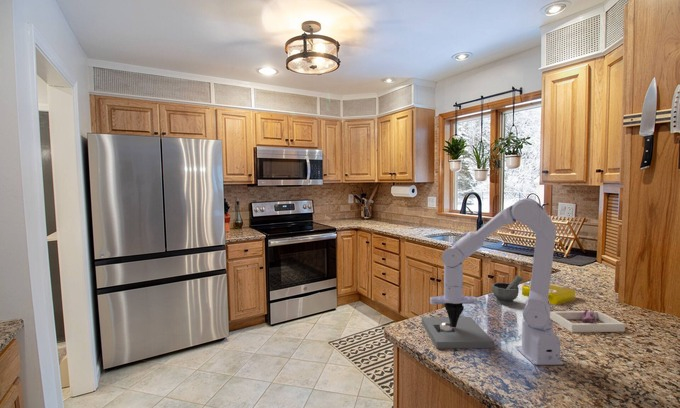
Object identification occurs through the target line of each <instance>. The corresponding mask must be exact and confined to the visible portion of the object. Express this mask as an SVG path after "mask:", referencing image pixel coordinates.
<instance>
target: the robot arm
mask: <svg viewBox="0 0 680 408" xmlns="http://www.w3.org/2000/svg"><path fill="white" fill-rule="evenodd" d="M516 222H519V223H520V224H522V225H524V226H527V228H529V229H530V230H531V231H532V232H533V234H535V243H534V249H533V250H534V251H533V260H532V270H531V278H530V284H531V285H530V293H529V297H528V298H527V300H526V302H525V307H524V309H523V311H522V319H521V321H522V324H521V327H522V328H521V329H522V331H521V345H515V349H516V350H517V351H519V353H521V354H522V355H523V356H524V357H525V358H526V359H527V360H528V361H529V362H530V363H532V364H533V365H534V366H541V365H543V366H545V365H547V366H549V365H550V366H551V365H552V366H553V365H562V366H563V365H564V362H563V360H561V339H560V338H559V336H558V335H557V334H555V332H554V329H553V323H552V322H551V319H550V312H551V311H552V306H551V305H552V304H550V303H549V300H548V296H549V287H550V283H551V277H552V268H553V261H554V251H555V242H556V235H557V234H556V233H557V227H556V225H555V224H554V222H553V220H552V219H551V218H550V215H549V214H548V212H547V211H546V209H545V208H544V206H542V205H541V204H540V203H539V202H537V201H536V200H535V199H532V198H522V199H520V200H518V201H516V202H514V204H512V205H509V206H508V207H506V208H504V209H502V210H501V211H499V212H498V213H497V214H496V215H495V216H493V217H492V218H491V219H489V220H488V221H487V222H486V223H485V224H483V226H482V227H480V228H479V229H478V230H477V231H473V230H470V231H468V232H467V231H465V232H464V233H462V235H461V236H462V237H460V239H458V240H457V241H456V242H452V243H451V244H450V245H451V246H450V247H448V248H445V250H444V251H443V252H442V253H441V260H442V263H443V264H444V265H443V269H444V270H443V295H440V296H439V295H438V296H430V297H429V304H430V305H431V306H435V305H443V306H444V308H445V310H446V312H447V317H449V320H450V325H451V326H452V327H456V326H457V322H458V319H459V317H461V314H462V313H463V312H464V309H465V308H464V305H465V304H466V305H478V298H477V297H475V296H471V295H469V296H467V295H464V282H463V281H464V279H463V278H464V269H463V267H464V266H463V265H464V264H463V262H464V261H465V259H468V258H469V257H471V255H473V254H474V253H475V252H477V251H478V250H479V249H481V248H482V247H483V246H484V243H485V241H484V240H485V239H486V238H488V237H489V236H490V235H492V234H494V232H496V231H497V230H499V229H500V228H502V227H503V226H504V225H507V224H509V225H510V224H514V223H516Z"/></svg>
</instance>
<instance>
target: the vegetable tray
mask: <svg viewBox="0 0 680 408" xmlns="http://www.w3.org/2000/svg"><path fill="white" fill-rule="evenodd" d="M585 311H586V310H581V311H580V310H576V311H575V310H573V311H572V310H566V311H565V310H562V311H559V310H558V311H552V310H551V312H550V320H552V321H554V322H555V323H556V324H558V325H560V326H561V327H563V328H564V329H566V330H568V331H569V332H570V333H612V332H614V333H619V332H622V333H624V332H626V324H625V323H623V322H621V321H619V320H618V319H615V318H613V317H611V316H609V315H607V314H605V313H604V312H601V311H600V310H593V311H594V316H595V318H596V320H597V321H600V322H597V323H582V322H576V323H574V322H572V321H570V320H582V319H583V317H584V312H585ZM587 311H588V312H590V310H587ZM589 319H590V318H589ZM593 319H594V318H593ZM590 320H591V319H590Z"/></svg>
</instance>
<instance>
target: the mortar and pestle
mask: <svg viewBox="0 0 680 408" xmlns="http://www.w3.org/2000/svg"><path fill="white" fill-rule="evenodd" d="M514 277H515V278H514V279H513V280H512V281H511V282H510V283H506V282H493V283H492V284H491V288H492V293H493V296H494V297H495V298H496V303H497V304H499V305H503V306H512V305H514V301H515V300H516V299H517V298H518V296H519V292H520V288H519V286H520V284H521V282H522V281H523V280H524V279H523V277H522V276H520V275H515V276H514Z"/></svg>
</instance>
